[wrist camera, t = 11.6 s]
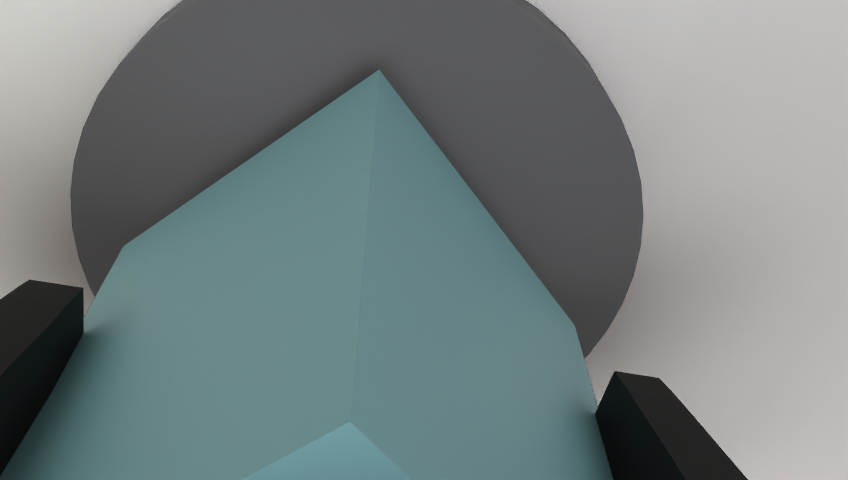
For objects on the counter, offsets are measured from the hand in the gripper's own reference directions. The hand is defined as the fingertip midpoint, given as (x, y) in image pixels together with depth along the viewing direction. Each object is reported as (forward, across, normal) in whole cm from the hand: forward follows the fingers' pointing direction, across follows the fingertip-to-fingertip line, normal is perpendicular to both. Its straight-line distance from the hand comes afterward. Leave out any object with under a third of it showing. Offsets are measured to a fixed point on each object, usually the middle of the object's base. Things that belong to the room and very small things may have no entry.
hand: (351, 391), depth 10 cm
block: (+2, 0, 0) cm, 2 cm away
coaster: (+4, 0, 0) cm, 4 cm away
